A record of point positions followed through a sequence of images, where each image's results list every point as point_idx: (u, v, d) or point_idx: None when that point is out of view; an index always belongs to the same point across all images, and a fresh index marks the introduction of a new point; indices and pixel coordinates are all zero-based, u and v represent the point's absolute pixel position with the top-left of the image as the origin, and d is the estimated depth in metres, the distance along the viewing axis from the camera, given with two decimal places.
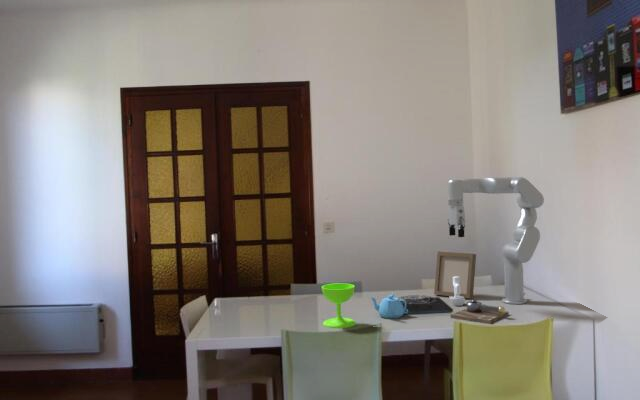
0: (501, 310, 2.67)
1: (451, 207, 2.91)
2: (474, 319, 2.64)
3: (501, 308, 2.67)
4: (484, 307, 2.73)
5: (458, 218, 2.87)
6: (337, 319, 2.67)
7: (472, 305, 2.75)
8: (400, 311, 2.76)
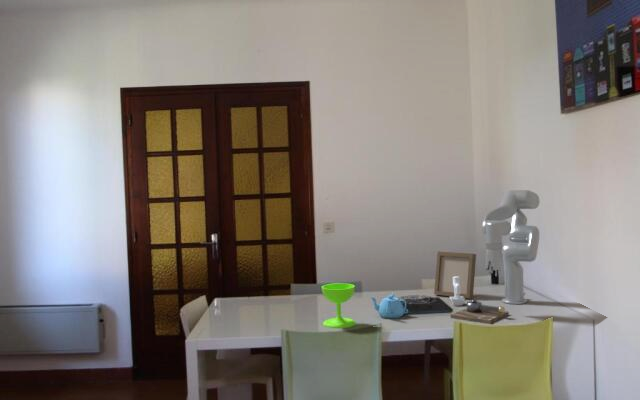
0: (501, 310, 2.67)
1: (499, 251, 2.75)
2: (474, 319, 2.64)
3: (501, 308, 2.67)
4: (484, 307, 2.73)
5: None
6: (337, 319, 2.67)
7: (472, 305, 2.75)
8: (400, 311, 2.76)
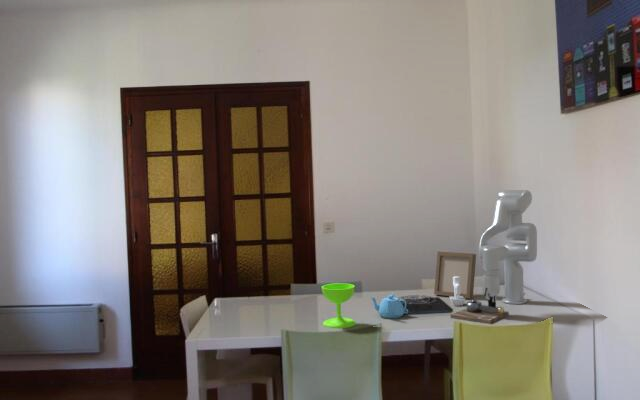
0: (500, 310, 2.66)
1: (496, 277, 2.72)
2: (474, 319, 2.64)
3: (500, 308, 2.67)
4: (484, 307, 2.73)
5: None
6: (337, 319, 2.67)
7: (472, 305, 2.75)
8: (400, 311, 2.76)
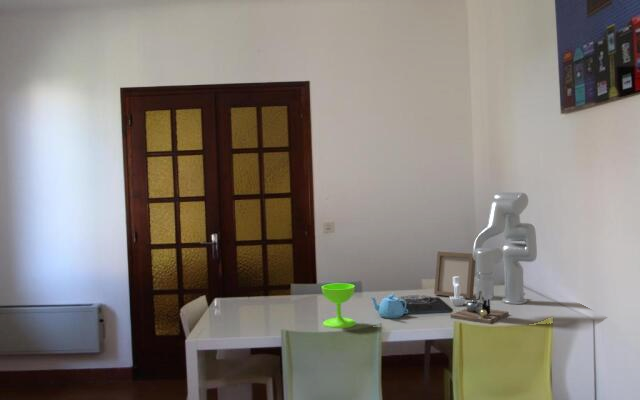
0: (481, 313, 2.63)
1: (490, 280, 2.67)
2: (474, 319, 2.64)
3: (481, 311, 2.63)
4: (476, 308, 2.72)
5: None
6: (337, 319, 2.67)
7: (467, 304, 2.77)
8: (400, 311, 2.76)
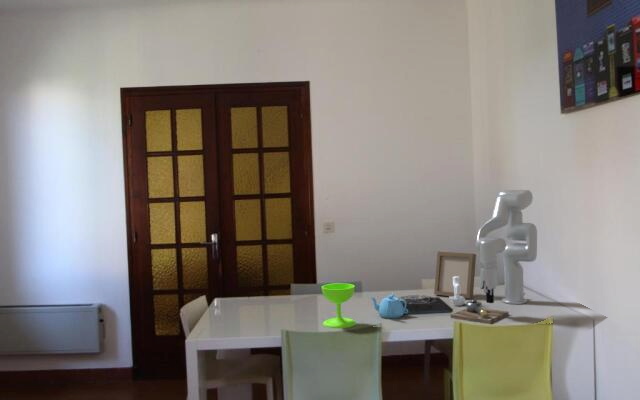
0: (481, 313, 2.63)
1: (493, 270, 2.70)
2: (474, 319, 2.64)
3: (481, 311, 2.63)
4: (476, 308, 2.72)
5: None
6: (337, 319, 2.67)
7: (467, 304, 2.77)
8: (400, 311, 2.76)
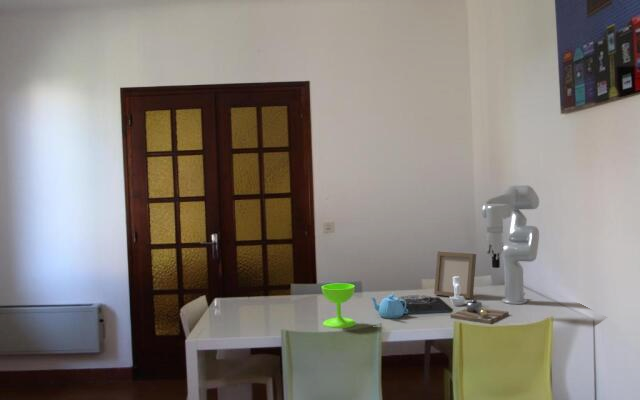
0: (481, 313, 2.63)
1: (499, 234, 2.73)
2: (474, 319, 2.64)
3: (481, 311, 2.63)
4: (476, 308, 2.72)
5: None
6: (337, 319, 2.67)
7: (467, 304, 2.77)
8: (400, 311, 2.76)
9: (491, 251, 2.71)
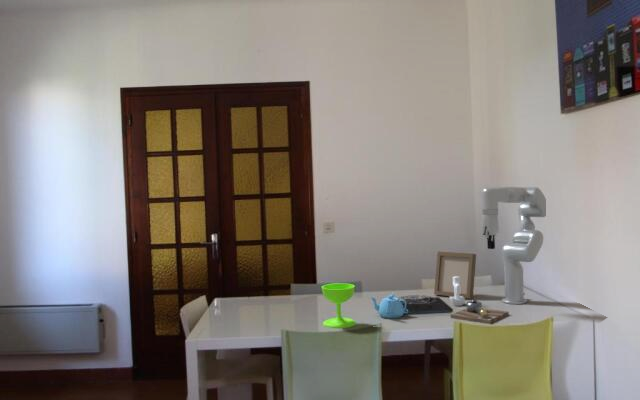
0: (481, 313, 2.63)
1: (495, 216, 2.83)
2: (474, 319, 2.64)
3: (481, 311, 2.63)
4: (476, 308, 2.72)
5: None
6: (337, 319, 2.67)
7: (467, 304, 2.77)
8: (400, 311, 2.76)
9: (486, 232, 2.81)
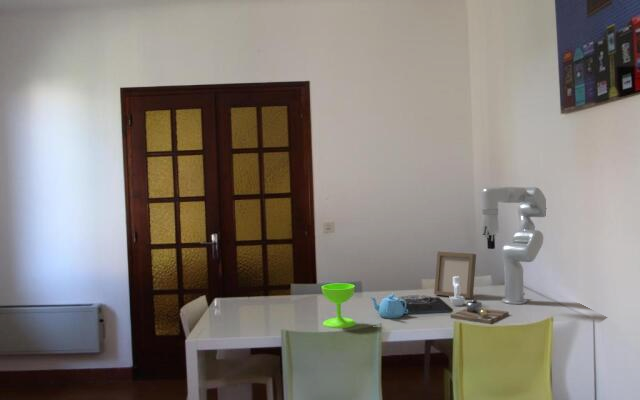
0: (481, 313, 2.63)
1: (495, 216, 2.83)
2: (474, 319, 2.64)
3: (481, 311, 2.63)
4: (476, 308, 2.72)
5: None
6: (337, 319, 2.67)
7: (467, 304, 2.77)
8: (400, 311, 2.76)
9: (486, 232, 2.81)
